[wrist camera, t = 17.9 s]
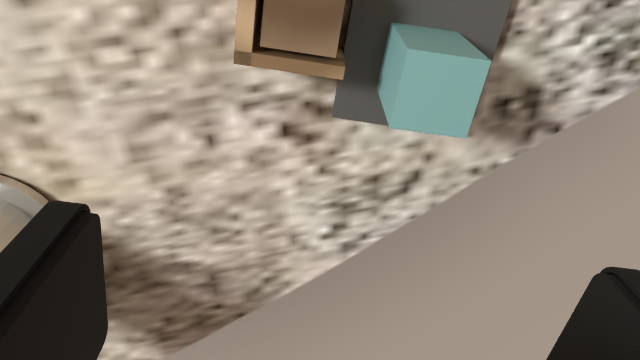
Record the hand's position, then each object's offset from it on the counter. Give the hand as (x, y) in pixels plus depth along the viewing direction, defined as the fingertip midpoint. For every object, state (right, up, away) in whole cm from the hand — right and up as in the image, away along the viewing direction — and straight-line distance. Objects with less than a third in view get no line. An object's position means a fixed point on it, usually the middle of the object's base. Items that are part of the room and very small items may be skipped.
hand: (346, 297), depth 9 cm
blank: (+6, +10, +23) cm, 26 cm away
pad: (+6, +11, +23) cm, 26 cm away
